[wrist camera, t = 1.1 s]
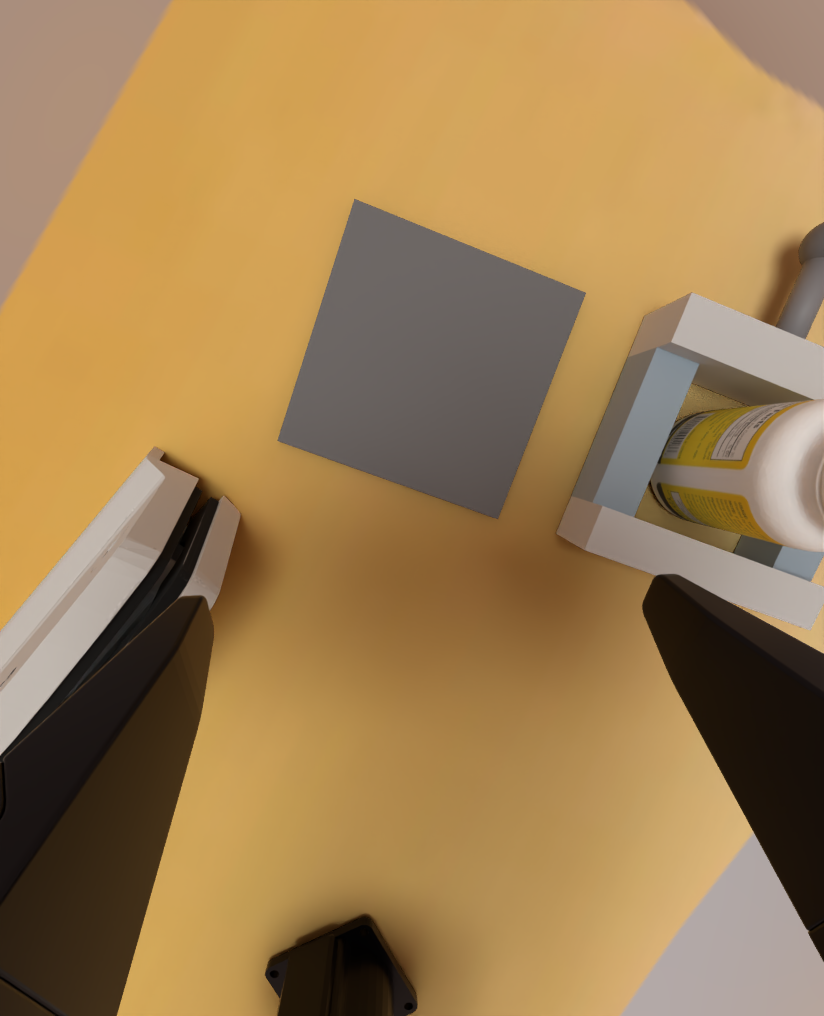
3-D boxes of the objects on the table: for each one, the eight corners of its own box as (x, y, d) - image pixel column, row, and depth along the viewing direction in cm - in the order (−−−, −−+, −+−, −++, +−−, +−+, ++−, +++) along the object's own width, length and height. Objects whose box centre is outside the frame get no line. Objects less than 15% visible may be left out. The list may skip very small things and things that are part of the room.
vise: (750, 603, 24) (810, 630, 21) (555, 533, 23) (584, 550, 20) (900, 286, 22) (994, 257, 19) (693, 196, 21) (752, 148, 18)
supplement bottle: (749, 518, 23) (1000, 573, 14) (643, 523, 23) (822, 582, 14) (757, 408, 23) (1029, 385, 13) (647, 412, 22) (839, 391, 13)
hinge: (160, 439, 22) (89, 522, 13) (245, 498, 24) (235, 604, 15) (-50, 691, 23) (-245, 922, 14) (48, 725, 25) (-67, 945, 16)
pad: (495, 517, 23) (497, 519, 22) (280, 440, 22) (277, 440, 21) (581, 296, 22) (585, 293, 21) (355, 204, 21) (354, 198, 20)
